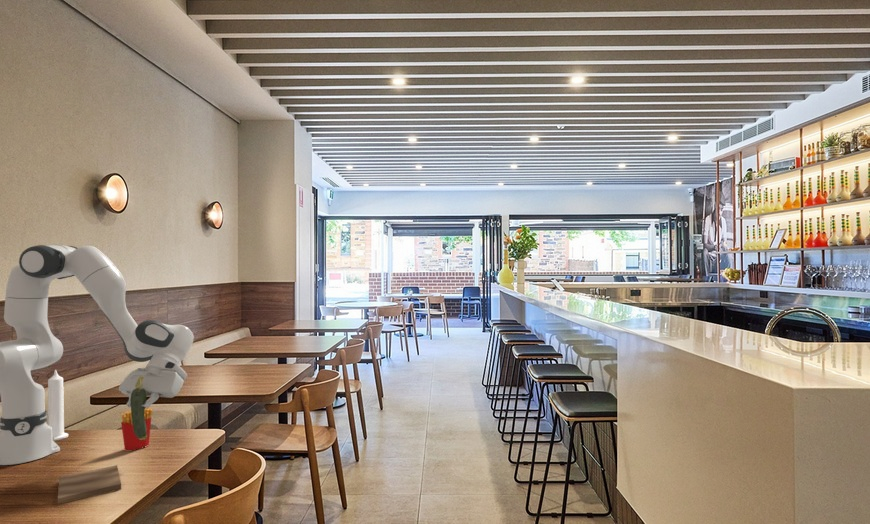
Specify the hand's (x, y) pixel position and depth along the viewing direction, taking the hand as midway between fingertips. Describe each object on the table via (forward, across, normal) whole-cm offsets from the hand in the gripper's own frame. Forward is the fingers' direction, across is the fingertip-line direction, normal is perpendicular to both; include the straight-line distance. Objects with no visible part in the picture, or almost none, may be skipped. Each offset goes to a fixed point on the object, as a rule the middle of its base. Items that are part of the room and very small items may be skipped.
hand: (136, 407), depth 155 cm
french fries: (+3, -14, +23) cm, 27 cm away
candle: (+2, -53, +25) cm, 59 cm away
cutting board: (+23, -2, +2) cm, 23 cm away
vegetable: (+7, 0, +8) cm, 11 cm away
